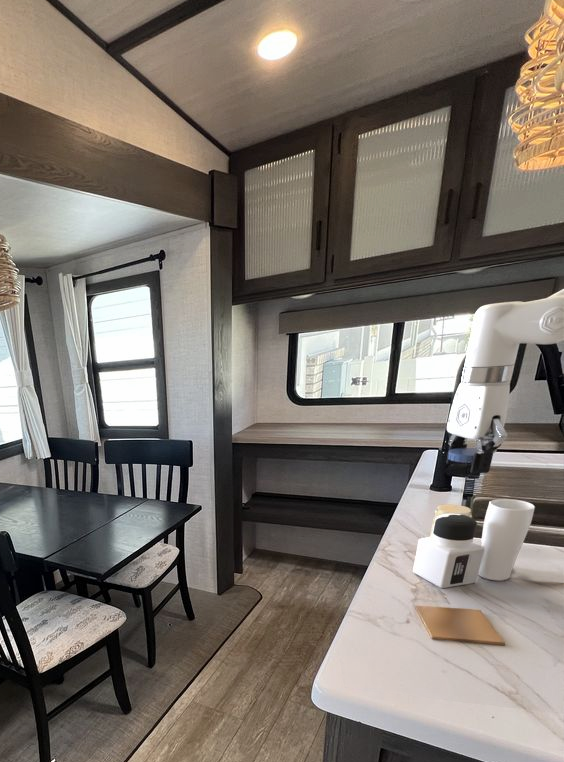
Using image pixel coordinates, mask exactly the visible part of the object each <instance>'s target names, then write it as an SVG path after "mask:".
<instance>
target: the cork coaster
mask: <svg viewBox="0 0 564 762" xmlns="http://www.w3.org/2000/svg"><path fill="white" fill-rule="evenodd" d="M414 608H415V610H416V612H417V614H418V616H419V617H420V619H421V622H422V623H423V625H424V626H425V629H426V631H427V634H428V635H429V636H430V639H431V640H439V641H452V642H464V643H475V644H485V645H486V644H487V645H499V646H505V645H506V641H505V639H504V638H503V637H502V636H501V635H500V634H499V632H498V631H497V629H496V628H495V627H494V626H493V624H492V623H491V622H490V620H489V619H488V617H487V616H486V614H484V612H483V611H482V610H481V609H477V608H476V609H473V608H460V607H459V608H457V607H443V606H429V605H415V607H414Z"/></svg>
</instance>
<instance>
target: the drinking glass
mask: <svg viewBox="0 0 564 762" xmlns="http://www.w3.org/2000/svg"><path fill="white" fill-rule="evenodd" d="M535 509H536V506H535V505H534V504H533V503H531V502H528V501H524V500H519V499H513V498H497V499H493V500H490V501H489V503H488V506H487V509H486V512H485V516H484V520H483V526H482V531H481V532H482V534H481V540H480V545H481V546H483V547H484V548H485V549H484V553H483V557H482V561H481V565H480V569H479V572H478V576H479V577H481V578H484V579H486V580H489V581H495V582H496V581H500V582H501V581H506V580H508V579H510V577H511V575H512V571H513V569H514V566H515V564H516V562H517V559H518V556H519V553H520V551H521V549H522V547H523V544H524V542H525V539H526V537H527V535H528V533H529V530H530V527H531V524H532V521H533V517H534V512H535Z"/></svg>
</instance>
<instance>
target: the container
mask: <svg viewBox="0 0 564 762" xmlns="http://www.w3.org/2000/svg"><path fill="white" fill-rule="evenodd" d="M477 526H478V522H477V520H476V519H474V518H473V517H472V518H471V517H469V516H466V515H462V514H443V515H440V516H438V517H436V519H435V523H434V528H433V533H432V537H430V536H428V537H421V538H419V539H418V541H417V547H416V553H415V557H414V561H413V569H412V573H413V574H415V575H417V576H419V577H420V578H422V579H424V580H426V581H427V582H429V583H431V584H433V585H434V586H436V587H438V588H440V589H448V588H451V587H452V588H453V587H459V586H463V585H464V586H465V585H471V584H475V583H477V579H478V576H479V575H478V572H479V569H480V565H481V561H482V557H483V553H484V549H485V548H484V547H483V546H481V544H478V543H476V542H474V538H475V533H476V529H477Z"/></svg>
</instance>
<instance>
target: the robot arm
mask: <svg viewBox="0 0 564 762" xmlns="http://www.w3.org/2000/svg"><path fill="white" fill-rule="evenodd" d="M471 325H472V326H471V330H470V335H469V340H468V345H467V351H466V357H465V361H464V367H463V371H462V376H461V382H460V383H459V384H458V387H457V389H456V392H455V394H454V397H453V400H452V404H451V407H450V411H449V415H448V420H447V422H446V431H447V434H448V437H449V440H448V445H449V446H448V452H447V454H448V453H449V450H451V449H455V448H467V447H468V444H467V443H466V442H467V440H471V441H472V440H474V441H475V443H476V448H477V452H478V453H474V457H473V461H472V463H471V467H470V473H471V474H472V475H475V474H487V473H489V472H490V469H491V466H492V461H493V456H494V454H495V453H497V450H498V449H499V448H500V447H501V446H502V444H503V443H504V442H505V441H506V440H507V439H508V437H509V436H508V433H507V431H506V429H505V424H506V419H507V414H508V409H509V401H510V391H511V386H510V385H511V381H512V378H513V373H514V368H515V364H516V360H517V355H518V351H519V348H520V344H530V345H554V344H558V343H561V342H564V288H562V289H560V290H559V291H557V292H555V293H553V294H551V295H550V296H548V297H546V298H541V299H535V300H530V301H519V300H518V301H517V300H515V301H504V302H495V303H489V304H485V305H482V306H480V307H479V308H478V309H477V310H476V311H475V313H474V316H473V321H472V324H471ZM485 442H486V443H485ZM484 443H485V444H484ZM463 463H464V462H456V461H452V460H449V459H448V455H447V456H446V460H445V464H447V465H459V464H460V465H461V464H463Z"/></svg>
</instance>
